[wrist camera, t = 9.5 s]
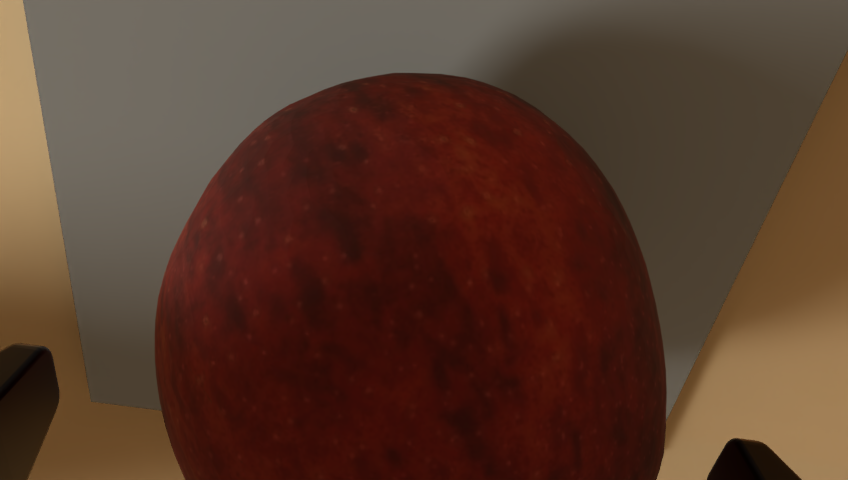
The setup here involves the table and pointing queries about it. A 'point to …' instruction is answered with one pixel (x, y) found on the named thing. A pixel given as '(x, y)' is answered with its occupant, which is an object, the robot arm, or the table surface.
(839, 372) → the table surface
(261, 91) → the mat
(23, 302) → the table surface
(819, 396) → the table surface
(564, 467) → the apple
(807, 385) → the table surface
